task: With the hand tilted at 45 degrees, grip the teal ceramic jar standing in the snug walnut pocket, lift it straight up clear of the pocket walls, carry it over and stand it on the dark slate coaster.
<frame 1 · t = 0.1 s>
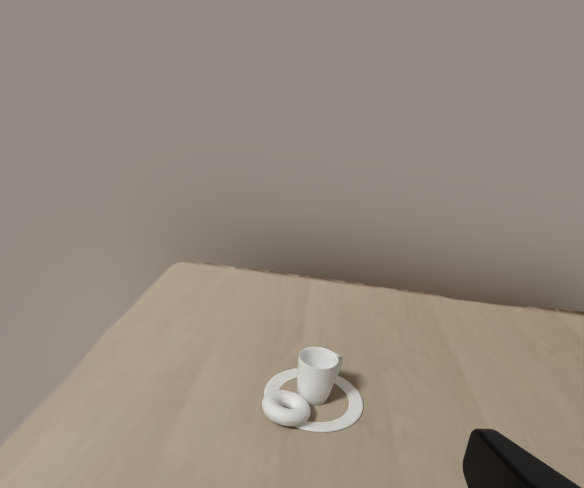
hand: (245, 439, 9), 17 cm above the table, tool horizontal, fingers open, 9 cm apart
teacup and saucer: (275, 395, 38), on the table
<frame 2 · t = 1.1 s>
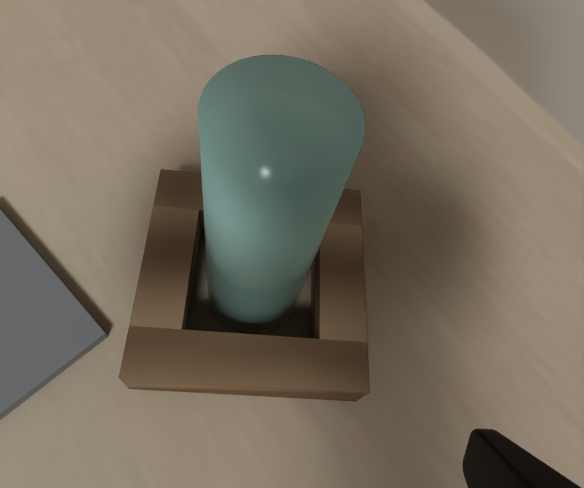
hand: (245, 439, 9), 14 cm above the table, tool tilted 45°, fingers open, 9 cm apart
pocket block: (253, 289, 25), on the table
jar: (263, 229, 19), in the pocket block
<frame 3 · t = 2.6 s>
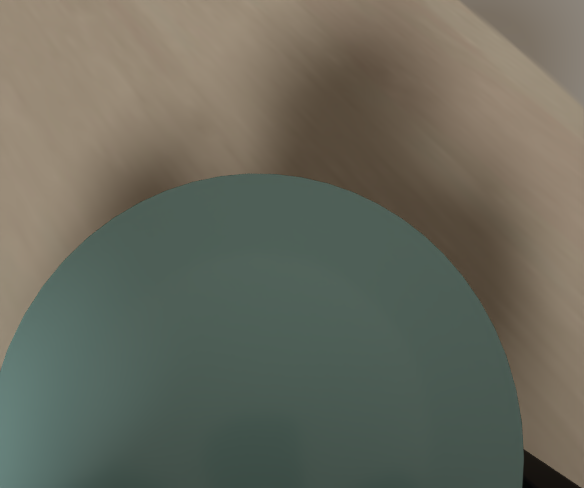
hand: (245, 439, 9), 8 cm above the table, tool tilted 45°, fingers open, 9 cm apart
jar: (242, 442, 10), in the pocket block
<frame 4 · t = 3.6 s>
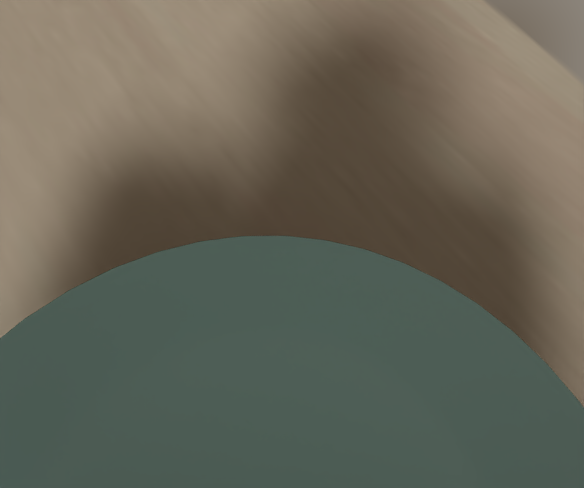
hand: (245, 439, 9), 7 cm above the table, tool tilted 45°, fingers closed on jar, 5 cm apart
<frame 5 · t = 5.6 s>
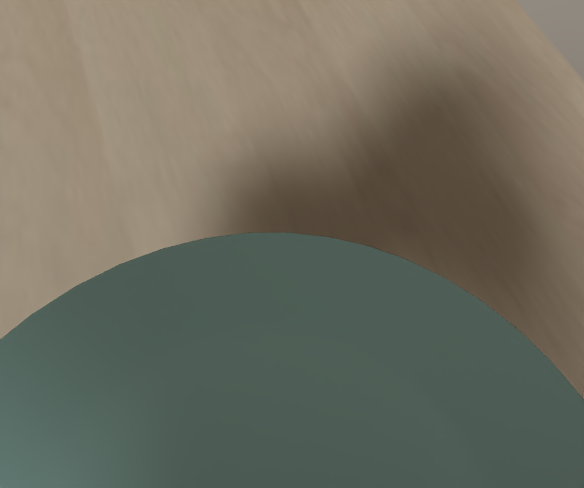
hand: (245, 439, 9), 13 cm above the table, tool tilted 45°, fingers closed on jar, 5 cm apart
when the fingers open (8 cm above the table, at t = 7.4 s): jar stays where it is, resting on coaster.
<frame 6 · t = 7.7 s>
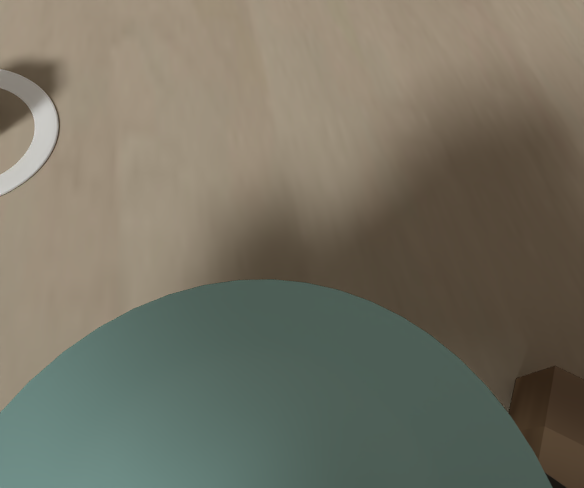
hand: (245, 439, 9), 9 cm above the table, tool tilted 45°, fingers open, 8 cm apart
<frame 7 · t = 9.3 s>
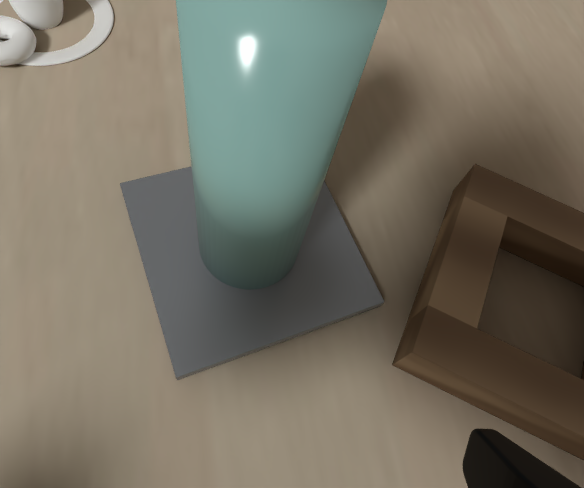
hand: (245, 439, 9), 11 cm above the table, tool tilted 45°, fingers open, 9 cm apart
coaster: (248, 246, 23), on the table
pocket block: (526, 315, 23), on the table
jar: (260, 158, 16), on the coaster, point 7 cm above the table
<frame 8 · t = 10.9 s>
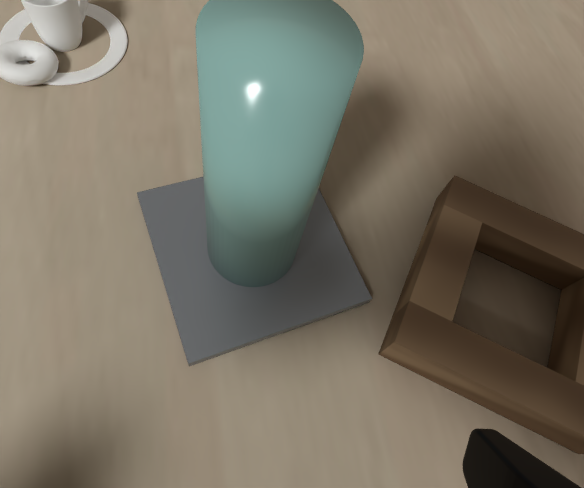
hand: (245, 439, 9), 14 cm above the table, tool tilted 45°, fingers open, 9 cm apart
coaster: (251, 249, 26), on the table
pocket block: (499, 311, 26), on the table
teacup and saucer: (18, 45, 31), on the table
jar: (262, 173, 19), on the coaster, point 7 cm above the table
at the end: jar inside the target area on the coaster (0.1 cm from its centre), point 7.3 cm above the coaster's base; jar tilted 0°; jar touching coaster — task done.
